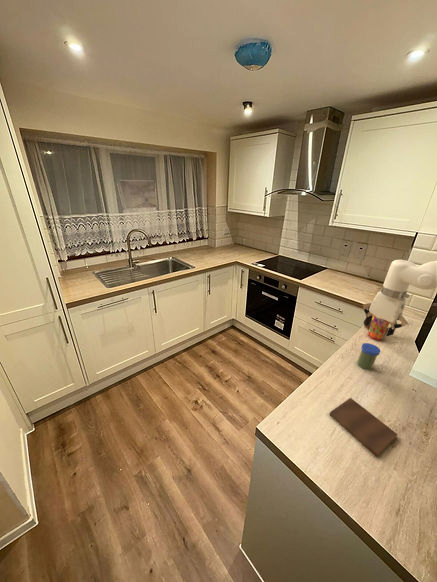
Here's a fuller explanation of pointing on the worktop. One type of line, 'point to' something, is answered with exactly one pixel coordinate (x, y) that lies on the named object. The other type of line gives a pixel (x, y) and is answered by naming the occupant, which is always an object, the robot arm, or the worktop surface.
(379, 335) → the smoothie
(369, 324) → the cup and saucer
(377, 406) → the worktop surface
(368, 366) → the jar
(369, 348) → the lid
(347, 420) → the board
